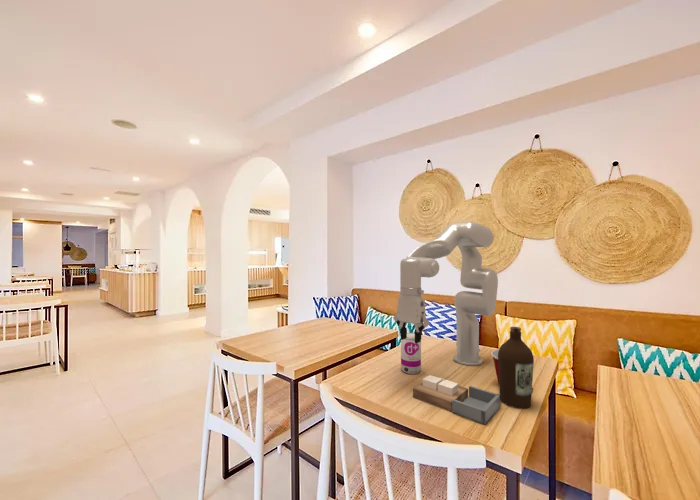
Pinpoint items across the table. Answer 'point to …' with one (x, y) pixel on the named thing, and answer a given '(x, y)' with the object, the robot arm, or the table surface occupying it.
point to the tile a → (432, 382)
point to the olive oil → (515, 371)
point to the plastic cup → (496, 362)
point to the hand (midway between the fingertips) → (410, 340)
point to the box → (477, 405)
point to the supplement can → (410, 355)
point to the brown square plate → (439, 396)
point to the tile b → (448, 387)
